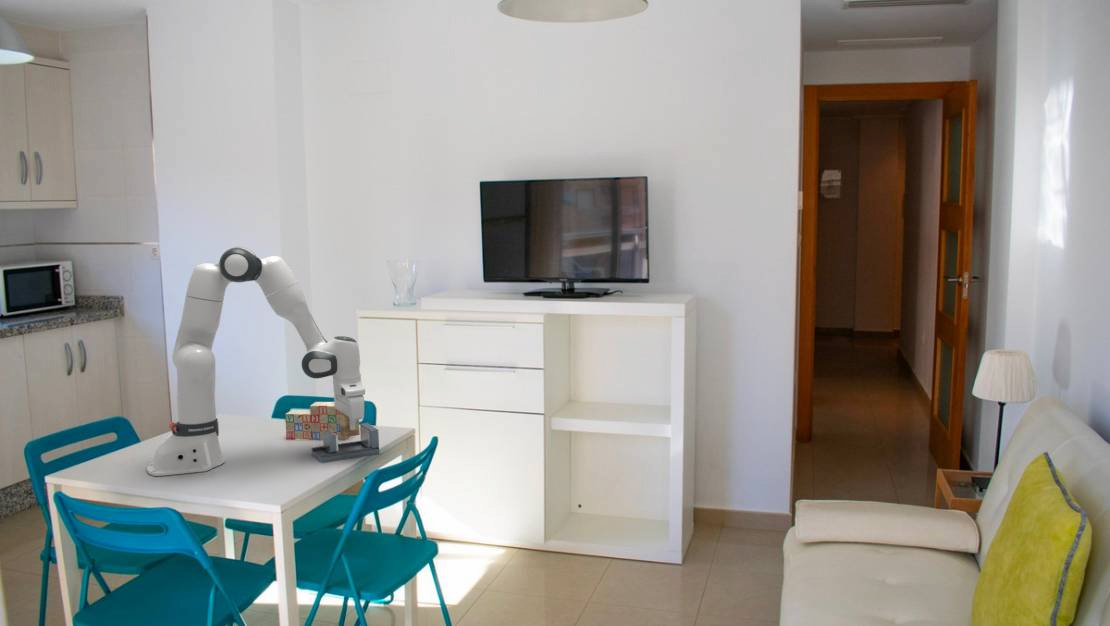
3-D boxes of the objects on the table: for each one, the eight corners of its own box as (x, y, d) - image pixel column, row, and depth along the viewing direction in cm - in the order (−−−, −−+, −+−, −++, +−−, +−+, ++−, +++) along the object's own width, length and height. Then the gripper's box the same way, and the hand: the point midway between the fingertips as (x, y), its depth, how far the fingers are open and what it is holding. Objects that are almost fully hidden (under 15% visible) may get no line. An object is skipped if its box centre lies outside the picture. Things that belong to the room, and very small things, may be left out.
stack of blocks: (285, 440, 316) (284, 405, 315) (292, 435, 322) (291, 401, 321) (345, 440, 314) (344, 405, 312) (351, 436, 320) (350, 401, 319)
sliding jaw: (330, 454, 290) (329, 436, 289) (323, 448, 297) (322, 430, 296) (338, 453, 291) (337, 435, 290) (331, 447, 298) (330, 429, 297)
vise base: (321, 462, 287) (320, 438, 286) (311, 454, 296) (310, 430, 295) (379, 453, 296) (378, 429, 295) (368, 446, 306) (367, 422, 305)
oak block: (344, 437, 294) (343, 416, 293) (340, 434, 297) (339, 413, 296) (359, 434, 296) (358, 413, 295) (355, 432, 300) (354, 411, 299)
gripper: (328, 382, 302) (330, 422, 304) (347, 392, 284) (349, 435, 286) (346, 379, 305) (349, 420, 307) (367, 390, 287) (369, 432, 289)
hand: (349, 427), depth 296 cm, fingers closed on oak block, 4 cm apart
